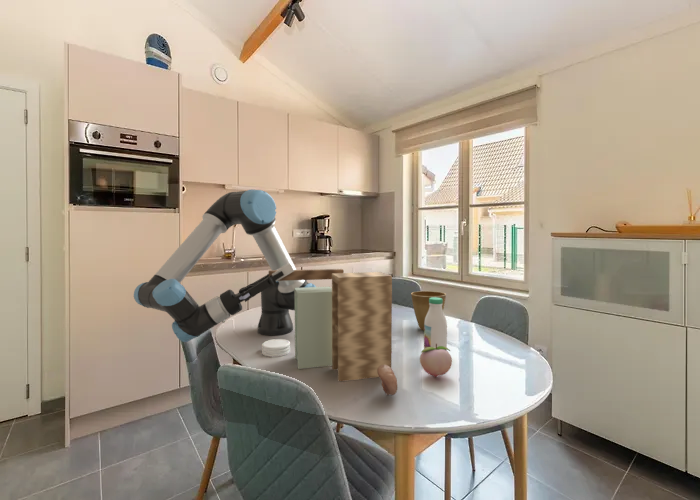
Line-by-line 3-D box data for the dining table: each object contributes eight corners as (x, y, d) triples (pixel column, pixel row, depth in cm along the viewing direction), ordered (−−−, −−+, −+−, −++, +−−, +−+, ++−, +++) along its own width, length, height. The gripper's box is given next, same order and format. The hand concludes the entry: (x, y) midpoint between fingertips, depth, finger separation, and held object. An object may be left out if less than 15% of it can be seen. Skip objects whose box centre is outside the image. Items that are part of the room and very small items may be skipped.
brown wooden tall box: (339, 381, 98) (338, 277, 97) (332, 368, 108) (331, 273, 106) (391, 375, 102) (391, 275, 101) (380, 363, 112) (380, 271, 110)
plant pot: (449, 327, 154) (450, 292, 153) (439, 336, 141) (439, 297, 140) (418, 323, 161) (418, 289, 161) (405, 330, 149) (405, 294, 148)
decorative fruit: (432, 386, 95) (432, 350, 95) (415, 374, 103) (415, 342, 102) (458, 380, 99) (459, 346, 98) (440, 369, 106) (441, 338, 106)
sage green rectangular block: (298, 369, 107) (297, 293, 106) (295, 357, 117) (294, 288, 116) (335, 365, 110) (335, 291, 109) (329, 354, 120) (329, 286, 119)
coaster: (295, 349, 126) (294, 339, 126) (282, 358, 116) (282, 348, 116) (270, 346, 129) (270, 337, 129) (256, 355, 119) (256, 345, 119)
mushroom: (384, 387, 94) (384, 358, 94) (404, 392, 91) (404, 363, 91) (370, 398, 88) (370, 368, 88) (392, 404, 85) (392, 373, 84)
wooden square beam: (268, 281, 107) (268, 271, 107) (268, 279, 110) (268, 270, 110) (343, 278, 113) (343, 269, 113) (341, 277, 116) (341, 268, 116)
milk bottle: (447, 352, 122) (448, 296, 121) (445, 360, 114) (446, 301, 113) (425, 350, 124) (425, 295, 123) (422, 357, 117) (423, 299, 116)
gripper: (233, 310, 114) (295, 273, 118) (229, 322, 98) (300, 279, 103) (221, 291, 113) (284, 255, 117) (215, 300, 97) (287, 258, 102)
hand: (291, 266), depth 110 cm, fingers closed on wooden square beam, 3 cm apart
